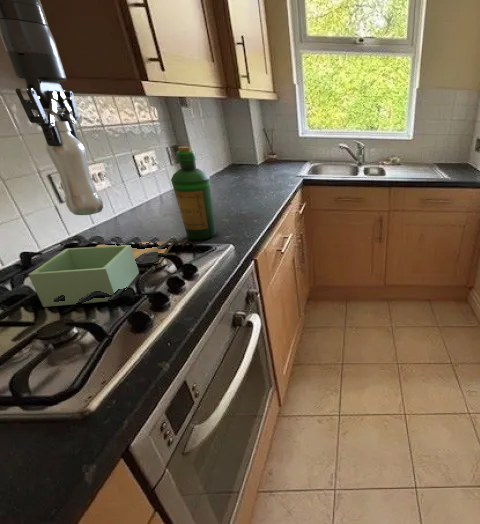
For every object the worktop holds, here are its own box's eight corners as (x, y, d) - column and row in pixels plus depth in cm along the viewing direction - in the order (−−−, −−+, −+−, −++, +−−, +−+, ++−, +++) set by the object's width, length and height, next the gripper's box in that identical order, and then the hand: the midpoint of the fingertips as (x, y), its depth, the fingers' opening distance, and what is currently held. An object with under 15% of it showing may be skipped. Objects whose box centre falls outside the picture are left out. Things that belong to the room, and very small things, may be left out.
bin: (43, 307, 70) (27, 274, 67) (77, 277, 82) (65, 248, 78) (116, 300, 73) (105, 268, 70) (139, 272, 85) (130, 244, 82)
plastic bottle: (83, 220, 73) (49, 122, 65) (63, 216, 75) (27, 121, 67) (112, 212, 79) (84, 121, 70) (93, 208, 81) (63, 120, 72)
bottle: (177, 237, 108) (156, 146, 96) (207, 228, 116) (191, 144, 104) (196, 244, 103) (176, 150, 91) (226, 235, 111) (211, 147, 99)
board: (73, 269, 86) (72, 265, 85) (99, 248, 98) (98, 244, 97) (159, 263, 90) (158, 259, 90) (173, 244, 102) (172, 240, 102)
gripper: (34, 55, 69) (63, 140, 76) (-22, 44, 56) (19, 148, 63) (76, 57, 71) (101, 141, 78) (31, 47, 58) (65, 148, 65)
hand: (64, 143), depth 71 cm, fingers closed on plastic bottle, 6 cm apart
